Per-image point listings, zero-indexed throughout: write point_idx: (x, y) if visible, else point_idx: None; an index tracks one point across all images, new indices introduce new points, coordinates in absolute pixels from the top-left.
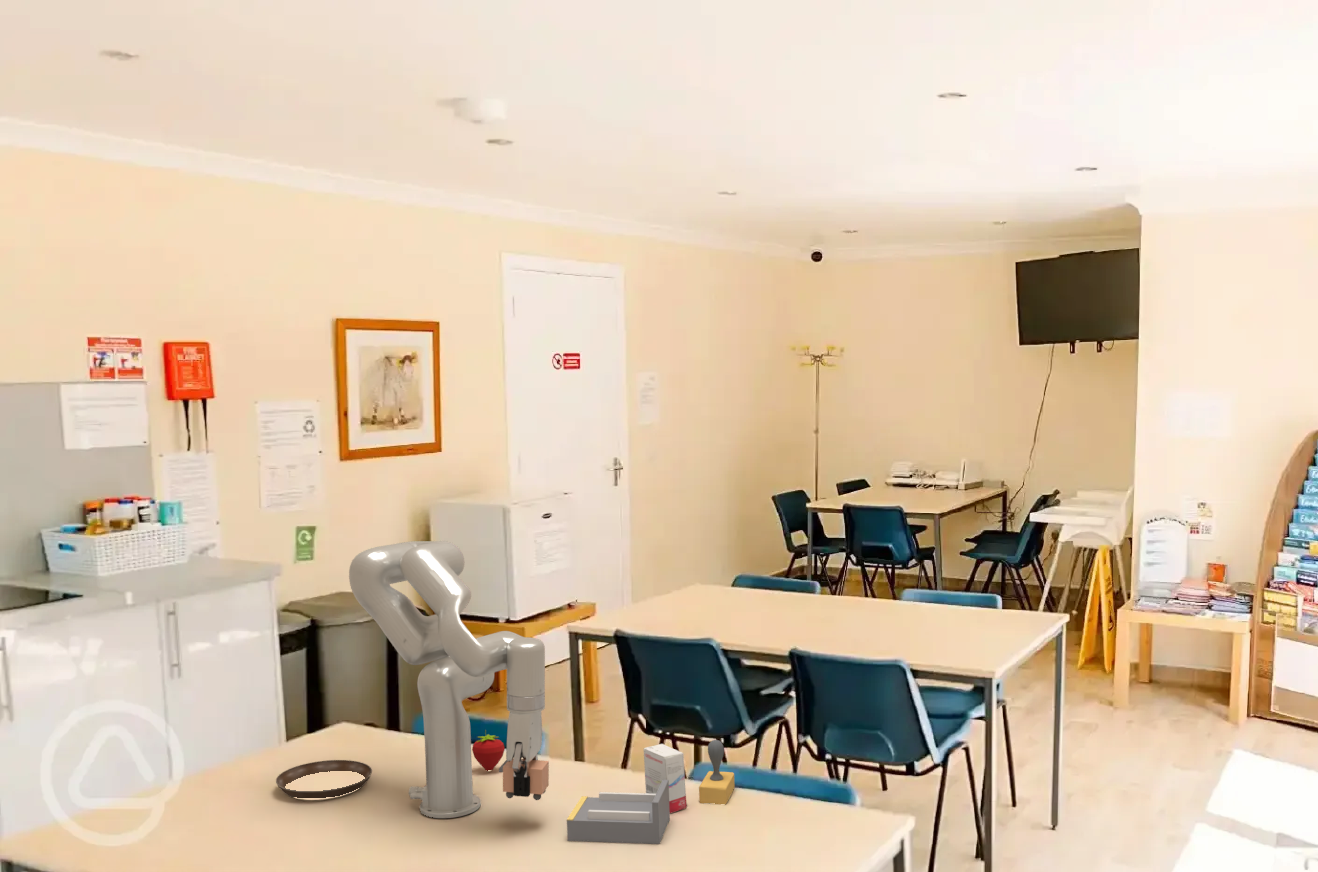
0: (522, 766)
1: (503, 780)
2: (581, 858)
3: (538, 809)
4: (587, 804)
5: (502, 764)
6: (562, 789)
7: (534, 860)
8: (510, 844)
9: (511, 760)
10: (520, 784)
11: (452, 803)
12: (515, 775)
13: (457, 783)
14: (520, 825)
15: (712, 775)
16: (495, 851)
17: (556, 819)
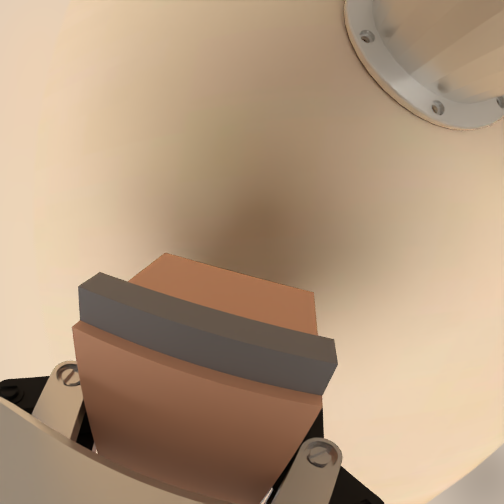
0: (122, 447)
1: (132, 282)
2: None
3: (384, 321)
4: None
5: (177, 325)
6: (490, 364)
7: (43, 300)
8: (110, 243)
9: (256, 415)
10: None
11: (384, 19)
12: (59, 375)
13: (422, 4)
14: (254, 269)
15: None
16: (74, 206)
17: None
